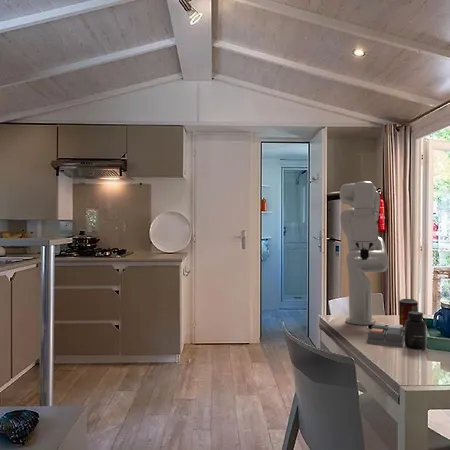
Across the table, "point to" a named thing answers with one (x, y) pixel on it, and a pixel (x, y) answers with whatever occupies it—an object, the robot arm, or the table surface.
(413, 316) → the supplement bottle
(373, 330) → the terracotta key
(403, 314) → the soda can
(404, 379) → the table surface
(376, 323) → the sage key
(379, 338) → the keypad
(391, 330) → the slate key
